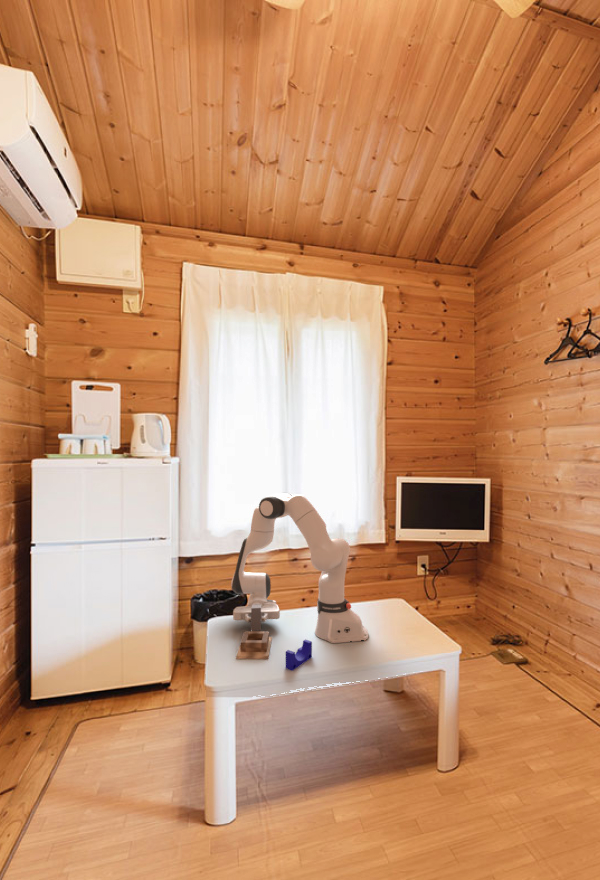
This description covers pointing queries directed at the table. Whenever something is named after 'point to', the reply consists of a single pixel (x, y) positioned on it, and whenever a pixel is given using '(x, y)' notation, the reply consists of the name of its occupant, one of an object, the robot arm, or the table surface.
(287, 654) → the blue cradle bracket
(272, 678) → the table surface
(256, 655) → the socket board
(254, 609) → the peg
